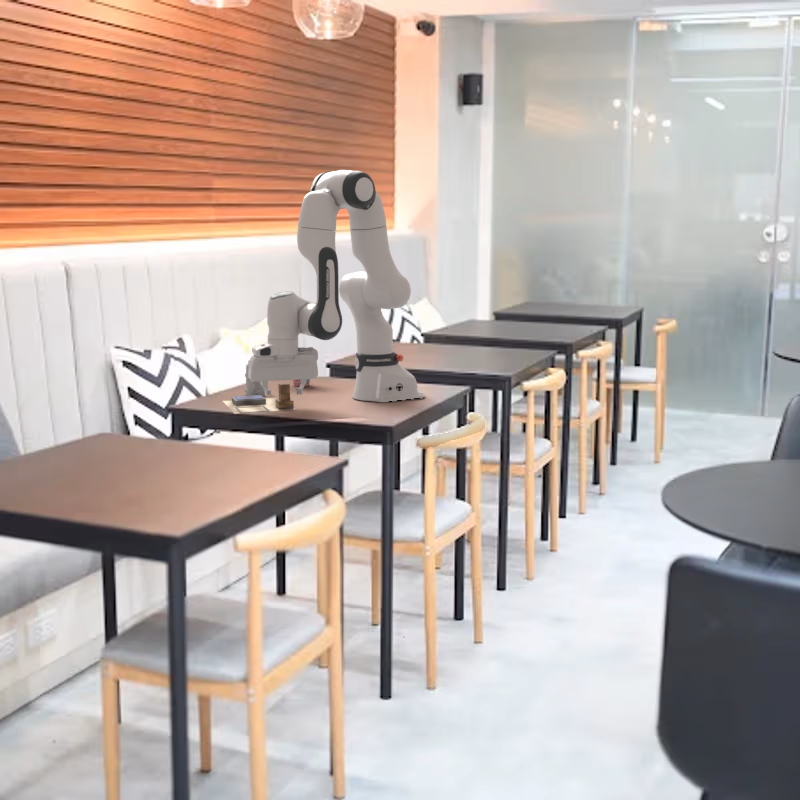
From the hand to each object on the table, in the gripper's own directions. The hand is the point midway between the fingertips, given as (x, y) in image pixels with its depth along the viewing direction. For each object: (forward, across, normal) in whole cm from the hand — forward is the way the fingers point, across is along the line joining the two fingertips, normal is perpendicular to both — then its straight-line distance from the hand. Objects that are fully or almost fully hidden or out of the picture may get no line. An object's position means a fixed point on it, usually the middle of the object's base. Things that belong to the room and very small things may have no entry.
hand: (283, 395), depth 325 cm
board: (+5, +6, -7) cm, 10 cm away
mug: (+5, +3, -27) cm, 28 cm away
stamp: (+4, 0, 0) cm, 4 cm away
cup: (+5, -16, -42) cm, 45 cm away
